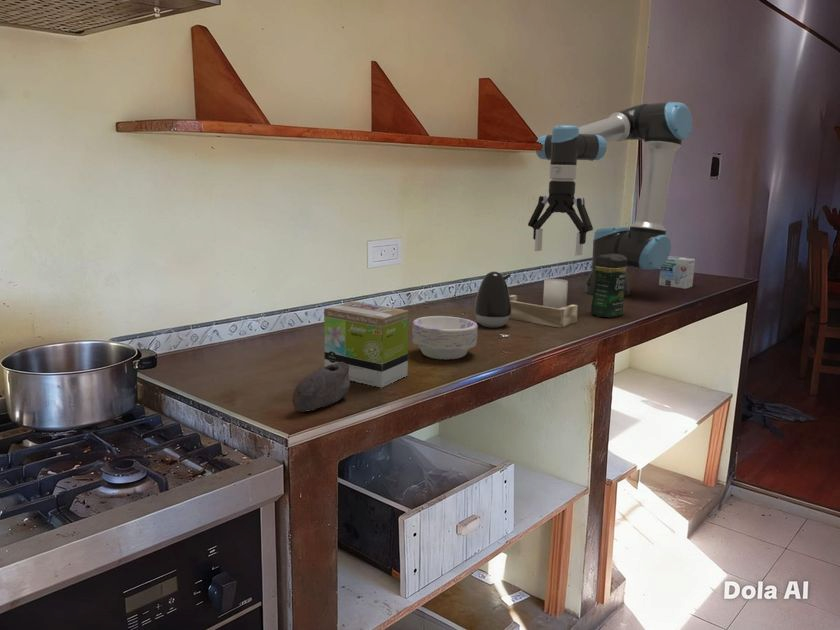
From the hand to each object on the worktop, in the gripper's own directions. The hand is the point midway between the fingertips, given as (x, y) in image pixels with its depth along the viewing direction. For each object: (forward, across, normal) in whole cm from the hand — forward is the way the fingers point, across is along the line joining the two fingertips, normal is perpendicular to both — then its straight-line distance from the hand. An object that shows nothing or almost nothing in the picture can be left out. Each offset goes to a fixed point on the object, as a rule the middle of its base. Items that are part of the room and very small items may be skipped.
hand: (557, 253), depth 209 cm
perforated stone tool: (+19, +10, -103) cm, 105 cm away
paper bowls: (+19, +5, -60) cm, 63 cm away
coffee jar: (+18, +13, +9) cm, 24 cm away
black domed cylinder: (+19, -4, -27) cm, 33 cm away
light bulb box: (+18, +8, +77) cm, 80 cm away
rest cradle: (+18, 0, -11) cm, 22 cm away
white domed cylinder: (+18, 0, 0) cm, 18 cm away
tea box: (+19, +4, -85) cm, 87 cm away
